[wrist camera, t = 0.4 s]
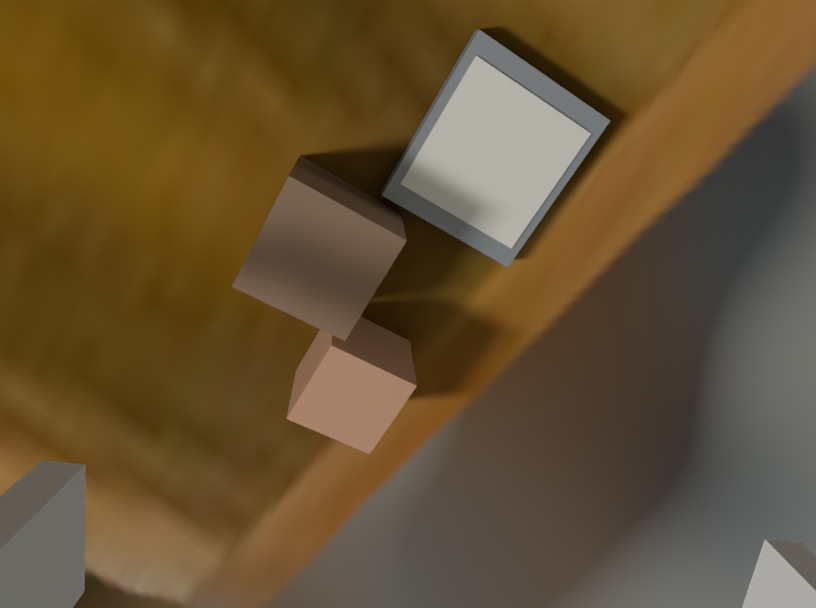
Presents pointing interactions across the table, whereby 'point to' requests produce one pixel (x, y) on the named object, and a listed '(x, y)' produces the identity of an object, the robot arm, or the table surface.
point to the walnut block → (322, 250)
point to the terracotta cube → (353, 384)
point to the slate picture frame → (493, 150)
